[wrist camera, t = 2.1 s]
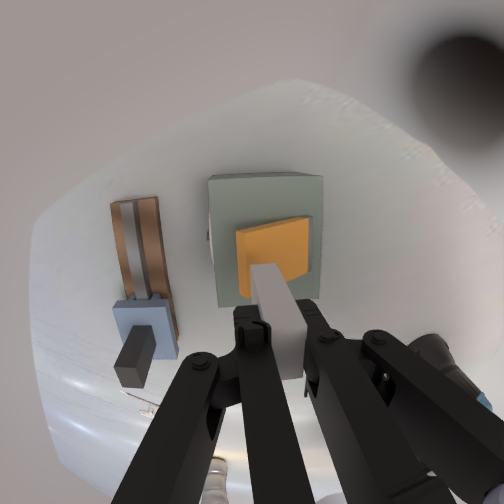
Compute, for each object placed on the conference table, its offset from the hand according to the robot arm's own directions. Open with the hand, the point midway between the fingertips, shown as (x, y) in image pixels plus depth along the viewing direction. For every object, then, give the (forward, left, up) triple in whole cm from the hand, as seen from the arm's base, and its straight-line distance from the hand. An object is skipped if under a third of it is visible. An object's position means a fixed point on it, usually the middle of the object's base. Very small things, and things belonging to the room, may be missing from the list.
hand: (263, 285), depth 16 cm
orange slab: (0, -2, -7) cm, 7 cm away
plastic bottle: (-56, +10, -19) cm, 60 cm away
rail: (-6, +13, -19) cm, 24 cm away
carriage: (-12, +13, -17) cm, 25 cm away
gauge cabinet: (0, -2, -19) cm, 19 cm away
